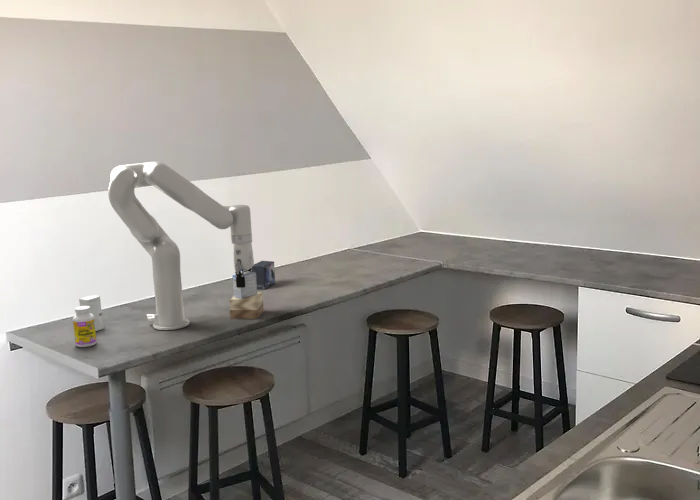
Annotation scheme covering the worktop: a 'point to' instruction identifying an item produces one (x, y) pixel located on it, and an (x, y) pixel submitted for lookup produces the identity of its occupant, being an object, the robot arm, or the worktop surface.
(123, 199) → the robot arm
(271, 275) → the small box
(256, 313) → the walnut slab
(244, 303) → the birch slab
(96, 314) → the skincare box
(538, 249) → the worktop surface
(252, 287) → the medicine box
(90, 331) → the supplement bottle
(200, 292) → the worktop surface
